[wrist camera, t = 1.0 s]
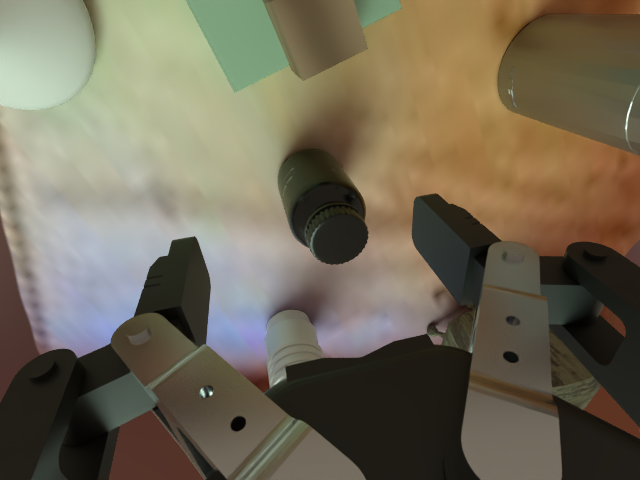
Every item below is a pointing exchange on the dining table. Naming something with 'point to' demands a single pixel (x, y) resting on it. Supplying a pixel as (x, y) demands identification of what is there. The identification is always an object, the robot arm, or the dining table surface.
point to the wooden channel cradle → (316, 33)
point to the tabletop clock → (565, 367)
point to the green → (258, 35)
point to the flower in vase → (44, 52)
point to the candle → (289, 343)
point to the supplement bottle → (323, 206)
